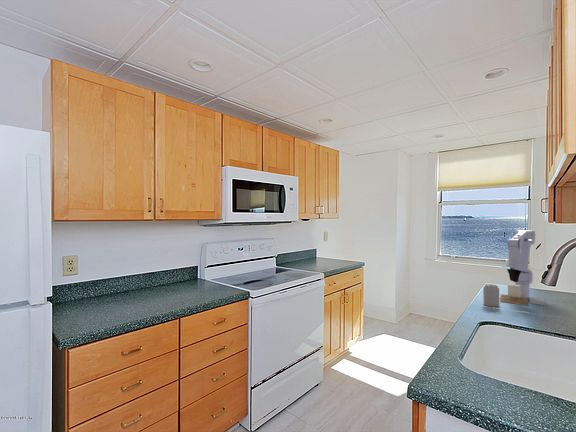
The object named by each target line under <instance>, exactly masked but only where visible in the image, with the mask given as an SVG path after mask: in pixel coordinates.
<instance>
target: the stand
mask: <svg viewBox="0 0 576 432" xmlns="http://www.w3.org/2000/svg"><path fill="white" fill-rule="evenodd" d="M546 301H547V300H546V299H545V298H537V297H536V298H535V297H531V298H529V304H532V305H540V306H546V304H547V303H546Z"/></svg>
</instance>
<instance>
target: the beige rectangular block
mask: <svg viewBox="0 0 576 432" xmlns="http://www.w3.org/2000/svg"><path fill="white" fill-rule="evenodd" d="M507 295H508V296H511V297H519V298H520V286H519V285H515V284H510V283H509V284H507Z"/></svg>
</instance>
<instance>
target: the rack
mask: <svg viewBox="0 0 576 432" xmlns="http://www.w3.org/2000/svg"><path fill="white" fill-rule="evenodd" d="M507 297H511V296H508V294H505V293H504V294H503V293H502V294H500V296H499V303H507V304H516V305H524V306H529V300H528V299H529V298H528V297H521V296H520V300H517V299H509V298H507ZM515 298H519V297H515Z"/></svg>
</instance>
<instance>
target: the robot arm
mask: <svg viewBox="0 0 576 432" xmlns="http://www.w3.org/2000/svg"><path fill="white" fill-rule="evenodd" d="M506 242H507V243H506V246H507V251H508V259H507V263H508V264H506V265H505V266H506V267H508V268H507V269H506V270H507V272H508V276H509V280H510V282H513V283H514V285H519V286H520V296H521V297H528V299H530V298H532V297H531V295H530V293H531V291H530V285H531V284H532V283H533V281H534V277H533V276H534V275H533V272H532V270H531V269H529V261H530V260H529V259H530V251H531V246H532V245H534V244H535V242H536V232H535V230H534V229H532V230H531V229H529V230H528V229H516V230H515V232H514V235H513V237H511V238H509V239H507V241H506Z"/></svg>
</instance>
